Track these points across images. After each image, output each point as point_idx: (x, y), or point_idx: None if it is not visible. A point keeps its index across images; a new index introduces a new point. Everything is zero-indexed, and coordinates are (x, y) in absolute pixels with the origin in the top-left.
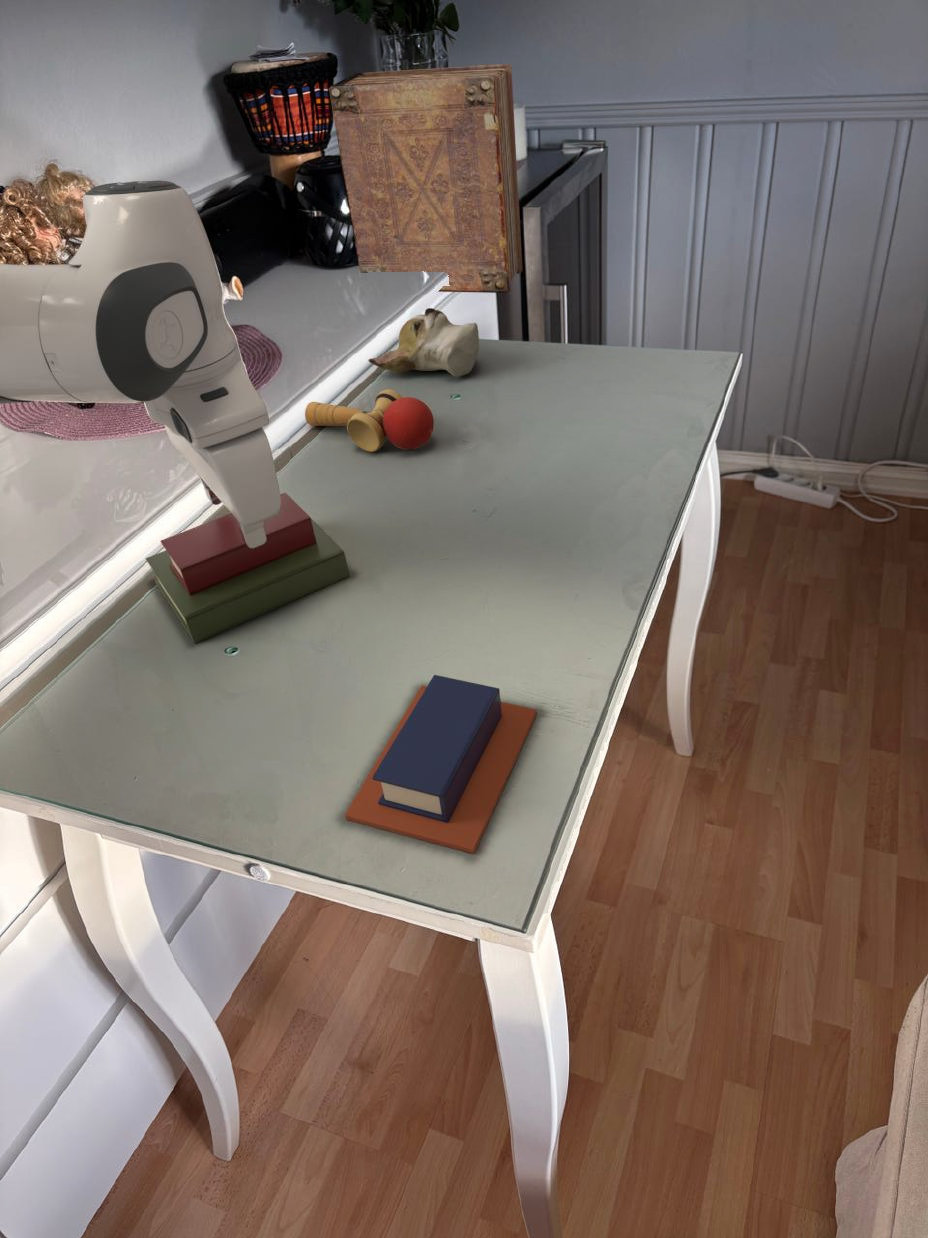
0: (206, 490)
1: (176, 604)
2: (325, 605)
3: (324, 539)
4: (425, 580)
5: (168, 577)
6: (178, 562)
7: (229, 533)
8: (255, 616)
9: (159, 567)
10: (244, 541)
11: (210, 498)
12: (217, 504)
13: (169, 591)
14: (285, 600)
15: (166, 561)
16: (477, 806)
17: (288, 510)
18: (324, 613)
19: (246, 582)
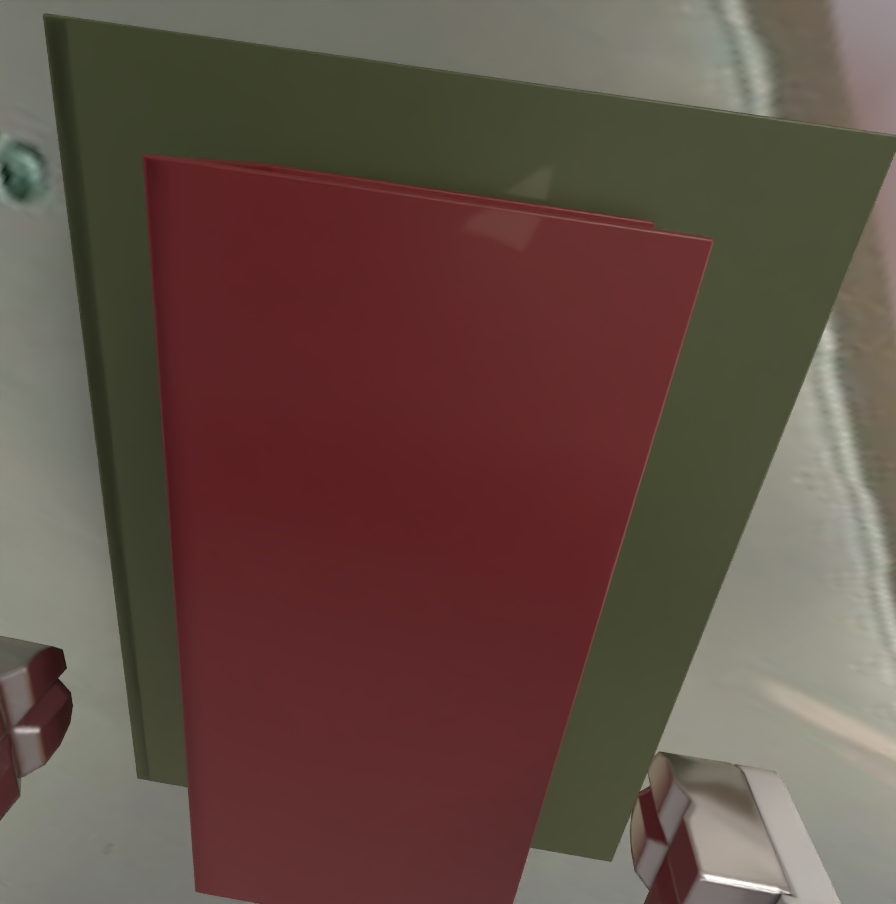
0: (759, 860)
1: (222, 42)
2: (94, 563)
3: None
4: (47, 778)
5: (539, 149)
6: (253, 192)
7: (352, 623)
8: None
9: (701, 159)
10: (3, 645)
11: (688, 796)
12: (652, 760)
13: (385, 74)
14: None
15: (720, 231)
16: None
17: (328, 879)
18: (54, 538)
19: None
